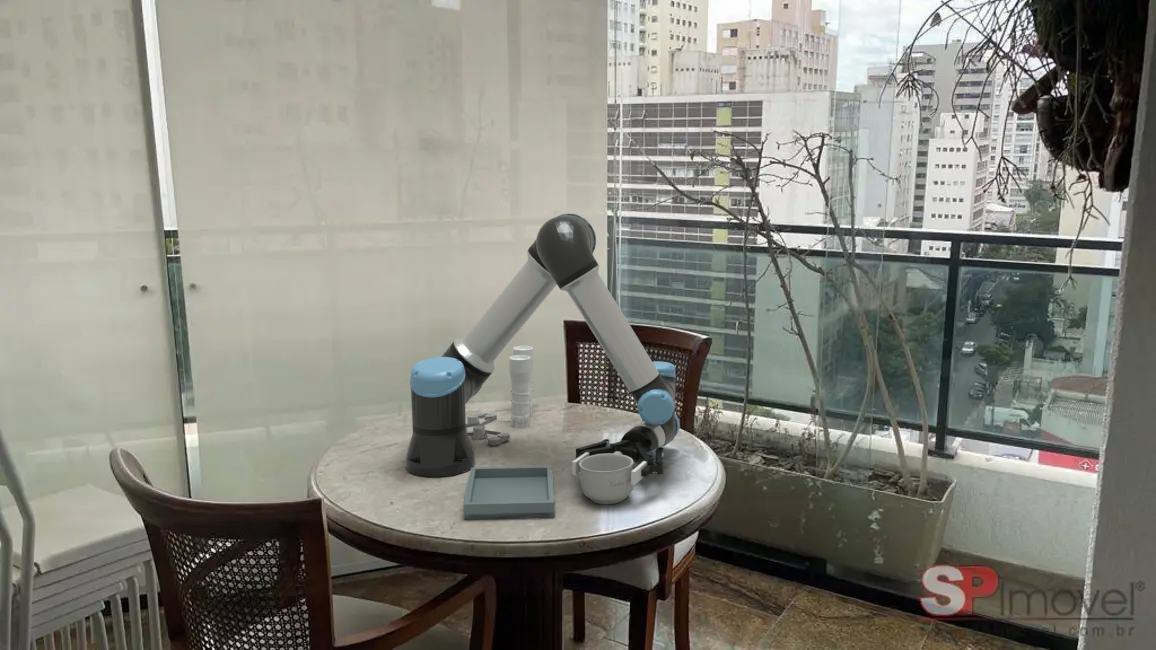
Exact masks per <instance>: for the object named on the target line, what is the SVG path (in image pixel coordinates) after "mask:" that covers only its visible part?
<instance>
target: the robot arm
mask: <svg viewBox="0 0 1156 650" xmlns="http://www.w3.org/2000/svg"><path fill="white" fill-rule="evenodd" d="M536 235H537V236H536V239H535V240H534V242H533V243H532V244H531V245H530V246H529V248H528V249H527V250H526V251H527V252H526V253H527V261H526V262H525V263H524V265H523V266H522V267H521V269H519V271H518V272H517V273H516V274H515V276H514V277H513V278H512V279H511V281H510V282H509V283H508V285H506V287H505V288H504V289H503V291H502V292H500V295H498V297H497V298H496V299H495V300H494V302H493V303H492V304H491V305H490V306H489V308H488V309H487V310H486V311H485V313H484V314H483V315H482V317H481V318H480V319H478V321H477V322H476V324H475V325H474V326H473V328H471V330H470V331H469V332H468V333H467V335H466V336H465V337H462V338H461V337H460V338H455V339H454V340H453V342H452V343H451V344H450V346H449V347H448V348H447V349H446V351H444V353H443V354H442V355H441V356H436V357H430V358H427V359H422V360H420V361H418V362H416V364H414V365H413V367H412V368H411V371H410V379H409V381H410V382H409V385H410V396H411V398H410V399H411V420H412V421H411V423H412V435H411V437H410V438H411V439H410V441H409V444H408V445H409V446H408V448H407V452H406V455H405V468H406V470H407V472H409V473H411V474H413V475H417V476H421V477H429V478H431V477H433V478H434V477H435V478H436V477H437V478H438V477H441V478H442V477H449V476H451V477H452V476H455V475H458V474H459V475H460V474H463V473H465V472H467V471H469V470H471V468H472V467H474V466H475V464H476V463H475V461H476V460H475V451H474V449H473V446H472V444H471V441H470V438H469V436H468V435H467V433H468V431H467V432H466V425H467V423H466V422H467V420H466V419H467V415H466V404H467V403H468V402H469V400H471V399H472V398H473V397H474V396H475V395H477V394H478V393H479V391H480V390H481V389H482V387H483V385H484V383H485V382H486V381H487V380H488V379H489V378H490V377H491V375H492V374H493V373H494V372H495V370H496V369H495V360H496V358H498V357H499V355H500V354H501V353H502V352H503V350H504V349H505V348H506V347H507V346H508V345H509V343H510V342H511V341H512V340H513V338H514V337H515V336H516V335H517V334H518V332H519V331H520V330H521V329H522V327H524V325H525V324H526V322H527V321H528V320H529V319H530V318H531V317H532V315H533V314H534V313H535V312H536V310H537V309H538V308H539V307H540V306H541V304H542V303H543V302H544V301H545V300H546V298H547V297H548V296H549V295H550V294H551V292H552V291H554V289H555V287H556V286H558V288H559V290H561V291H564V292H566V293H568V295H569V297H570V298H571V300H572V302H573V303H574V305H575V306H576V308H577V310H578V311H579V313H580V314H581V316H582V317H583V320H584V321H585V323H586V324H587V326H588V327H589V329H590V330H591V332H592V334H593V335H594V337H595V338H596V340H597V342H598V343H599V345H600V346H601V348H602V350H603V351H604V353H605V354H606V356H607V358H608V359H609V360H610V363H611V364H612V366H613V368H614V369H615V371H616V372H617V373H618V375H619V377H620V378H621V381H622V382H623V384H624V385H625V387H626V388H627V390H628V391H629V394H630V396H631V397H632V398H633V401H635V403H636V405H637V411H638V414H639V416H640V418H641V421H640V422H638V423H636V425H634V426H633V427H632V428H631V429H630V430H628V431H626V432H625V433H624V434H623V435H622V438H620V439H621V440H620V441H617V442H613V443H611V442H610V439H608V438H605V439H603V440H601V441H598V442H595V443H592V444H589V445H585V446H582V447H581V446H580V447H578V448H575V459H574V460H572V463H571V465H572V466H571V467H572V468H571V472H572V473H571V474H572V475H573V476H577V475H578V474H580V466H579V462H580V461H581V460H582V459H584V458H586V457H589V456H592V455H596V454H604V453H605V454H607V453H611V454H613V453H614V452H616V451H619V452H621V453H622V454H623V455H625V456H628V457H630V458H632V459H633V463H635V464H638V465H637V466H636V467H635V468H633V470H632V471H631V485H633V486H635V485H637V484H638V483H639V482H641V480H643V478H648V477H649V476H650V475H653V474H654V473H656V474H657V475H660V476H661V475H664V458H665V457H664V454H665V453H664V451H665V449H664V447H665V446H667V445H668V444H670V442H672V441H674V439H675V437H676V436H677V435H678V434H679V432H680V428H681V423H680V420H679V418H678V416H677V414H676V379H677V376H676V366H675V365H674V364H672V363H671V362H666V361H652V359H651V358H650V355H649V354H648V353H647V351H646V349H645V348H644V346H643V344H642V343H641V341H640V339H639V338H638V336H637V334H636V332H635V331H634V330H633V328H632V326H631V325H630V323H629V321H628V320H627V318H626V316H625V315H624V313H623V312H622V310H621V309H620V307H619V305H618V303H617V302H616V300H615V299H614V297H613V295H612V294H611V292H610V291H609V289H608V287H607V285H606V284H605V283H604V281H603V279H602V277H601V276H600V274H599V270H600V265H599V263H598V262H597V260H596V258H595V257H594V251H595V249H596V245H597V236H596V232H595V229H594V227H593V225H592V224H591V223H590V222H589V221H588V220H587V219H586V218H584V217H583V216H581V215H578V214H576V213H569V212H568V213H562V214H559V215H558V216H555V217H553V218H550V219H549V220H547V221H546V222H545V223H543V224H542V226H541V228H539V231H538V233H537V234H536ZM654 461H655V463H654Z"/></svg>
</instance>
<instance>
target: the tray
mask: <svg viewBox="0 0 1156 650" xmlns="http://www.w3.org/2000/svg"><path fill="white" fill-rule="evenodd" d="M552 468H553V467H552V465H530V466H527V465H526V466H525V465H524V466H486V467H485V466H482V467H481V466H480V467H478V466H477V467H474V466H473V467H472V468H471V469H470V471H469V477H468V481H467V486H466V492H465V498H464V502H463V503H464V504H463V514H464V518H463V519H464V520H467V521H468V520H499V519H500V520H501V519H502V520H505V519H506V518H509V519H534V518H535V519H536V518H537V519H539V518H540V519H541V518H542V519H543V518H547V519H548V518H549V519H550V518H555V516H556V515H555V513H556V511H555V510H556V509H555V505H556V503H555V490H554V479H553V469H552Z"/></svg>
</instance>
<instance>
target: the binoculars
mask: <svg viewBox="0 0 1156 650" xmlns="http://www.w3.org/2000/svg"><path fill="white" fill-rule="evenodd" d="M512 353H513V355H512V356H509V357H508V358H509V360H508V361H509V362H508V363H509V375H510V376H509V377H510V381H511V383H510V384H511V390H510V393H511V400H510V402H511V414H510V415H511V416H510V420H511V426H512V428H516V429H524V428H529V427H530V426H529V425H530V423H531V422H530V421H531V414H532V413H533V407H534V402H533V391H534V390H533V379H532V378H533V374H532V373H533V372H532V371H533V363H534V347H533V346H530V345H518V346H514V347H513V348H512ZM528 426H529V427H528Z"/></svg>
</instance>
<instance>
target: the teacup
mask: <svg viewBox="0 0 1156 650" xmlns="http://www.w3.org/2000/svg"><path fill="white" fill-rule="evenodd" d="M579 466H580V472H579V474H580V475H579V476H580V484H581V485H580V486H581V490H582V493H584V495H585V496H586V497H587V498H588V499H590V500H591V501H592V502H594V503H596V504H600V505H614V504H618V503H621V502H622V501H624V500H625V499H626V498H627V497H628V496H629V495H630V494H631V492H632V491H633V488H634V485H631V471H632V470H634V462H633V459H632V458H630V457H628V456H625V455H623V454H622V453H621V452H619V451H616V452H614V453H613V454H611V453H607V454H605V453H604V454H596V455H592V456H589V457H586V458H584V459H582V460H581V461H580V462H579Z"/></svg>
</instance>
